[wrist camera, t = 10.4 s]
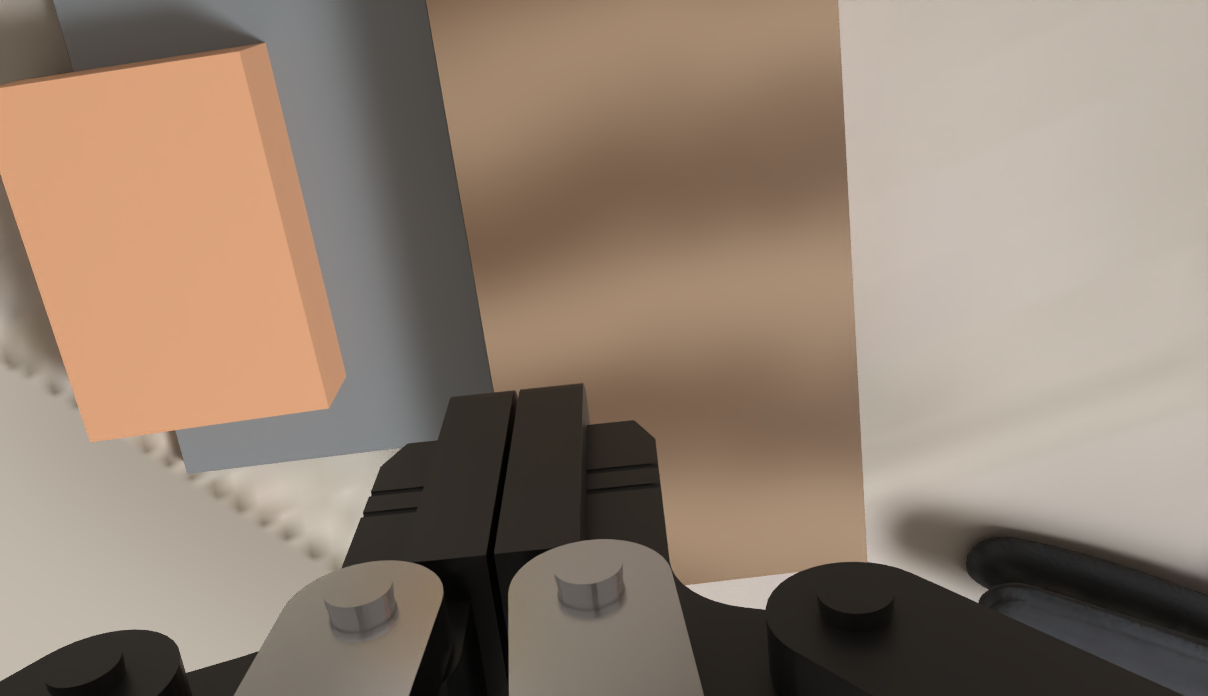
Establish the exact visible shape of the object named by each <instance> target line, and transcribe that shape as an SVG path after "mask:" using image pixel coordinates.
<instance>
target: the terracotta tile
mask: <svg viewBox="0 0 1208 696" xmlns="http://www.w3.org/2000/svg"><path fill="white" fill-rule="evenodd" d="M0 175H1V178H2V181H3V184H4V187H5V190H6V193H7V196H8V199H9V202H10V205H11V208H12V211H13V214H14V217H15V220H16V223H17V226H18V229H19V231H20V234H21V237H22V240H23V243H24V246H25V249H26V252H27V255H28V258H29V261H30V264H31V267H32V270H33V273H34V276H35V279H36V282H37V285H38V288H39V291H40V294H41V297H42V300H43V303H44V306H45V309H46V312H47V315H48V318H49V321H50V324H51V327H52V330H53V333H54V336H55V339H56V342H57V345H58V348H59V351H60V354H61V357H62V360H63V363H64V366H65V369H66V372H67V375H68V378H69V381H70V384H71V387H72V390H73V393H74V396H75V399H76V402H77V405H78V407H79V410H80V413H81V416H82V419H83V422H84V425H85V428H86V431H87V434H88V437H89V440H90V442H95V441H102V440H109V439H116V438H123V437H131V436H138V435H145V434H152V433H159V432H166V431H173V430H180V429H187V428H194V427H201V426H208V425H215V424H223V423H230V422H237V421H244V420H251V419H258V418H265V417H272V416H279V415H286V414H293V413H300V412H307V411H315V410H322V409H329V407H330V406H331V404H332V402H333V400H334V398H335V396H336V395H337V393H338V391H339V389H340V387H341V385H342V383H343V382H344V380H345V378H346V372H345V368H344V364H343V360H342V356H341V352H340V347H339V343H338V339H337V335H336V331H335V327H334V323H333V319H332V314H331V310H330V306H329V302H328V298H327V294H326V290H325V286H324V281H323V277H322V273H321V269H320V265H319V261H318V257H317V253H316V249H315V244H314V240H313V236H312V232H311V228H310V224H309V220H308V216H307V211H306V207H305V203H304V199H303V195H302V191H301V187H300V183H299V178H298V174H297V170H296V166H295V162H294V158H293V154H292V150H291V145H290V141H289V137H288V133H287V129H286V125H285V121H284V117H283V112H282V108H281V104H280V100H279V96H278V92H277V88H276V84H275V80H274V75H273V71H272V67H271V63H270V59H269V55H268V51H267V47H266V43H259V44H253V45H246V46H240V47H233V48H227V49H220V50H213V51H207V52H200V53H194V54H187V55H181V56H174V57H168V58H161V59H155V60H148V61H142V62H135V63H129V64H122V65H116V66H109V67H103V68H96V69H90V70H83V71H77V72H70V73H64V74H57V75H51V76H44V77H38V78H31V79H25V80H18V81H15V82H11V83H7V84H3V85H0Z"/></svg>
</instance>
